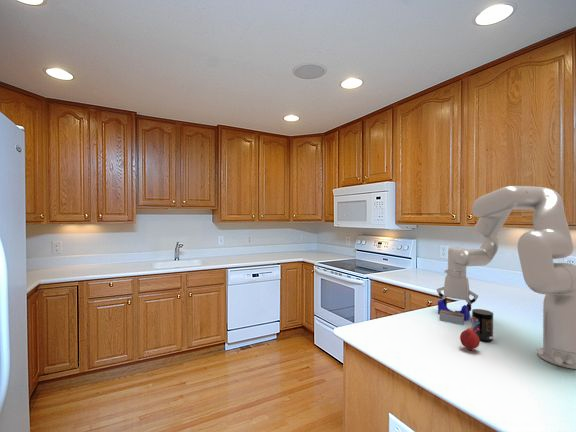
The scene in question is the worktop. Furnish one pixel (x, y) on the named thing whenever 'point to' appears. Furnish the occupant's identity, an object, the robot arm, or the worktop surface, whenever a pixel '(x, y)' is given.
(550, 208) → the robot arm
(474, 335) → the onion
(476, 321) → the supplement container
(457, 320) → the end stop block
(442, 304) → the cable clip
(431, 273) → the worktop surface
